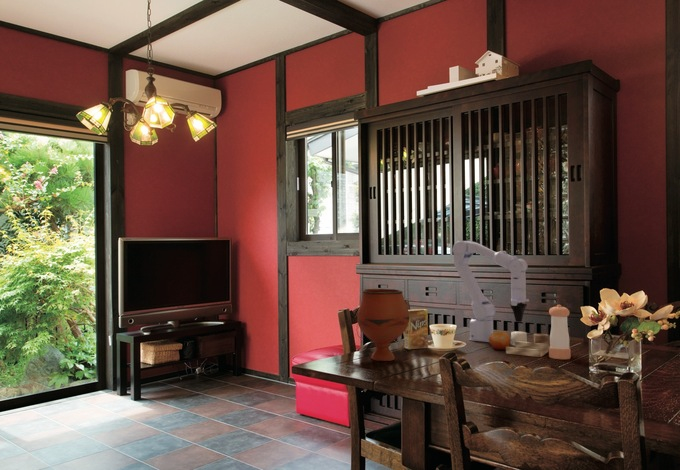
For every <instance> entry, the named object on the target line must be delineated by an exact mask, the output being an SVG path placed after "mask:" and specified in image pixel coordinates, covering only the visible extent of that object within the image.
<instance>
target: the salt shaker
mask: <svg viewBox="0 0 680 470" xmlns="http://www.w3.org/2000/svg"><path fill="white" fill-rule="evenodd" d="M548 310H549V311H548V313H549V315H550V318H551V319H550V321H551V327H550V334H549V351H548V357H549V358H551V359H555V360H570V359H571V355H572V354H571V347H570V336H569V329H568V317H569V316H570V313H571V312H570V310H569V309H568V308H567V307H565V306H562V305H561V304H557V305H556V306H553V307H550V308H549V309H548Z"/></svg>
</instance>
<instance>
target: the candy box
mask: <svg viewBox="0 0 680 470" xmlns="http://www.w3.org/2000/svg"><path fill="white" fill-rule="evenodd" d="M408 311H409V323H408V326H407V328H406V329H405V331H404V332H403V336H404V338H403V339H404V340H403V341H404V347H403V348H404V349H407V350H415V349H416V350H417V349H427V348H426V347H428V348H429V321H428V320H429V318H428V316H429V314H428V312H429V309H424V308H418V309H417V308H416V309H408Z"/></svg>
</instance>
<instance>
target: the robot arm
mask: <svg viewBox="0 0 680 470" xmlns="http://www.w3.org/2000/svg"><path fill="white" fill-rule="evenodd" d="M451 251H452V253H453V266H454V267H455V269H456V271H457V273H458V275H459V277H460V279H461V281H462V283H463V285H464V287H465V290H466V291H467V293H468V295H469V298H470V299H471V304H470V306H471V308H472V314H473V316H474V318H471V319H470V321H469V339H468V340H469V341H474V342H482V343H483V342H484V343H490V341H489V337H490V335H491V334H492V333H494V316H495V314H496V307H495V306H494V304H493V303H491V302H490V300H489V299H488V298H487V297H486V296H485V295H484V294H483V292H482V289H481V287H480V286H479V284H478V282H477V281H478V280H476V278H475V276H474V274H473V272H472V270H471V268H470V265H469V264H468V263H469V261H470V258H471V257H472V256H473V255H474V254H479V255H482V256H484V257H486V258H490V259H492V260H493V262H494V263H495V264H496V265H498V266H501V267H503V268H504V269H507V270H509V272H510V292H511V293H510V304H509V305H510V308H511V309H512V313H513V315H514V316H513V317H514V320H515V322H517V323H523V322H522V321H523V317H524V314H525V313H524V312H525V310H526V308H527V305H528V304H527V303H526V302H529V301H530V299H529V298H527V293H526V292H527V288H526V287H527V283H526V282H527V280H526V279H527V278H526V271H527V270H528V267H529V266H528V263H527V261H526V260H525V259H523V258H518V257H517V256H516V255H514V256H513V255H512V254H508V253H507V251H506V250H500V251H494V250H492V249H490V248H489V247H486V246H485V245H482V244H480V243H479V242H475V241H473V240H457V241H456V242H454V244H453V246H452V249H451Z"/></svg>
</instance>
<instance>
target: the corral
mask: <svg viewBox="0 0 680 470" xmlns="http://www.w3.org/2000/svg"><path fill="white" fill-rule="evenodd" d="M549 347H550V343H549V344H543V343H534V342H529V341H527V342H521V341H515V346H509V347H506V350H505V354H509V355H518V356H525V357H526V356H527V357H528V356H529V357H537V358H539V357H540V358H541V357H543V356H544V355H546V354H547V353H549Z"/></svg>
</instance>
